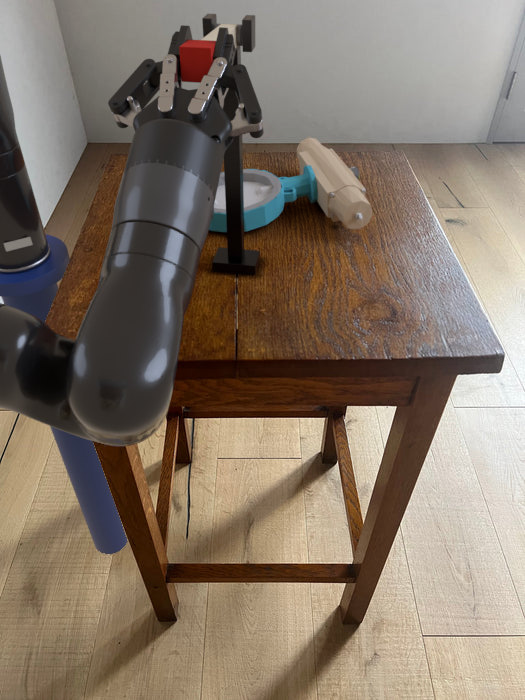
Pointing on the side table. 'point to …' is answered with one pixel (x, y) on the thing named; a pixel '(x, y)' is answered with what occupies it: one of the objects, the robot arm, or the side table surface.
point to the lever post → (234, 172)
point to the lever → (203, 53)
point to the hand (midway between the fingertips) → (205, 35)
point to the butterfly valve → (300, 190)
